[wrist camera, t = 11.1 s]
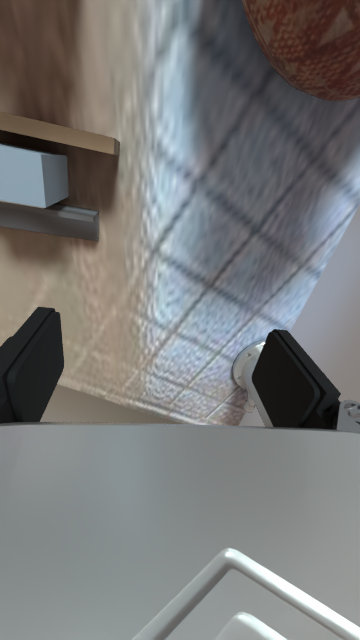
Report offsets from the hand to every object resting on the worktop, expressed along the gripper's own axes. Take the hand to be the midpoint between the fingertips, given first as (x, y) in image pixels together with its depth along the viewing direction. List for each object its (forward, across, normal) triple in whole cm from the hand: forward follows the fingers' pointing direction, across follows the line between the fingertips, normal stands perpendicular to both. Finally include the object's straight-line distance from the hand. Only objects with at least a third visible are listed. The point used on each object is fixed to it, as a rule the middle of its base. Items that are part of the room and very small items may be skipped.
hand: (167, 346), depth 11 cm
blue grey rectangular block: (+24, +14, -5) cm, 28 cm away
